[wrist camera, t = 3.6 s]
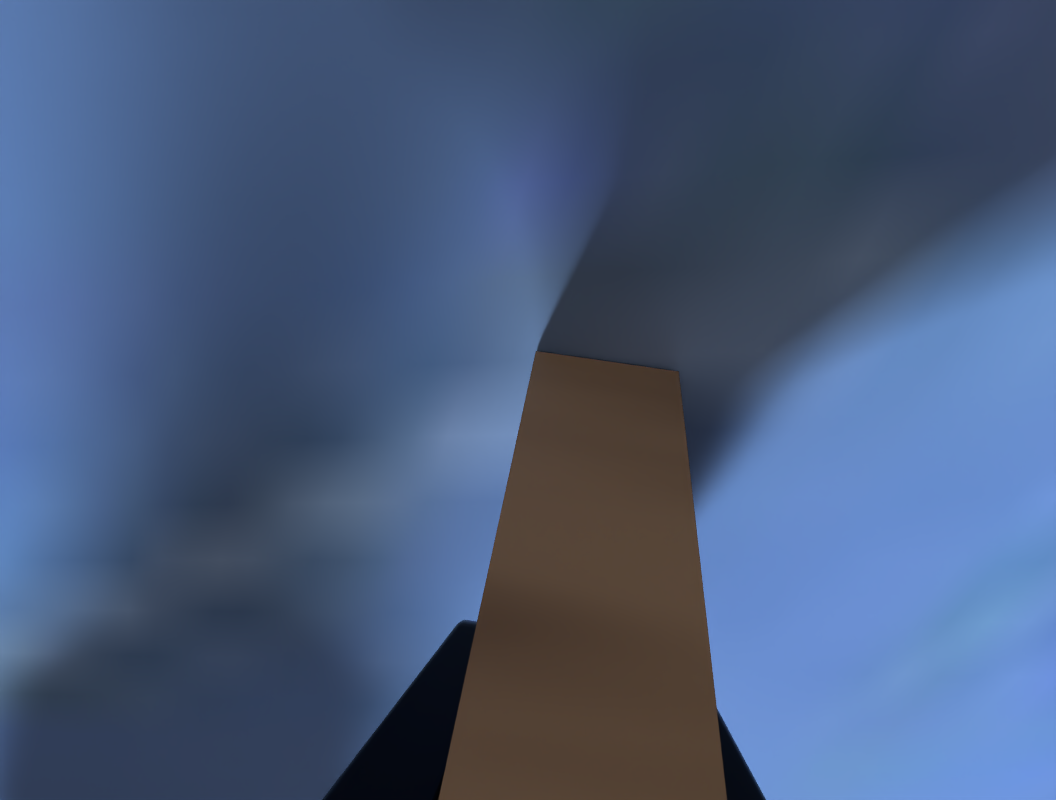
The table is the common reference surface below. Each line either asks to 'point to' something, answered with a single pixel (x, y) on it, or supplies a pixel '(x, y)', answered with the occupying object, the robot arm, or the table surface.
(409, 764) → the robot arm
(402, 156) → the table surface
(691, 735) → the tall brown wooden block
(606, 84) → the table surface
